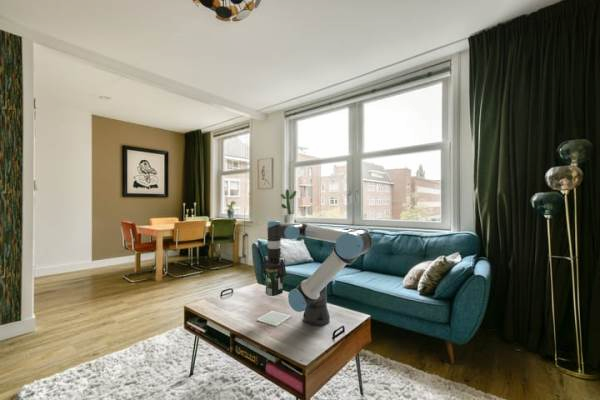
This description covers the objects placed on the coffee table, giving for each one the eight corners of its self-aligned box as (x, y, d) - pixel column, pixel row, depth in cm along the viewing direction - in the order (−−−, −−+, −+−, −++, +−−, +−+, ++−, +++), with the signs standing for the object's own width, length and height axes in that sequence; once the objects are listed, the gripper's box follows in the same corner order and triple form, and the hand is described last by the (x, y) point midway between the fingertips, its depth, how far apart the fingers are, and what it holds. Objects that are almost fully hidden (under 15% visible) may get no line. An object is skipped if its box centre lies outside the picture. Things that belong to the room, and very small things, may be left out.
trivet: (291, 317, 158) (291, 315, 158) (276, 326, 146) (276, 325, 146) (272, 312, 166) (272, 310, 166) (256, 320, 154) (256, 319, 154)
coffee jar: (276, 290, 162) (276, 259, 162) (284, 293, 157) (284, 261, 157) (263, 294, 156) (263, 261, 156) (271, 297, 150) (271, 264, 150)
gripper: (292, 248, 154) (292, 288, 154) (264, 245, 165) (264, 282, 165) (285, 250, 147) (285, 292, 147) (255, 247, 159) (255, 286, 159)
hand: (274, 287), depth 156 cm, fingers closed on coffee jar, 8 cm apart
